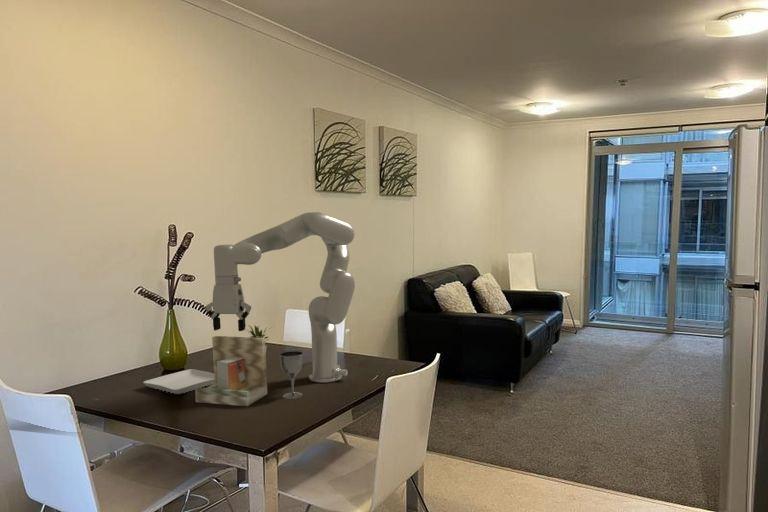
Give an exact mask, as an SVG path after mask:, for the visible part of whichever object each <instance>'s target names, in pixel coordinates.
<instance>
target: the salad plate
mask: <svg viewBox="0 0 768 512" xmlns="http://www.w3.org/2000/svg"><path fill="white" fill-rule="evenodd" d="M143 384H144V385H145V386H147V387H149V388H152V389H156V390H157V389H159V390H158V391H161V390H162V391H161V392H164V391H166V392H165V393H168V392H170V393H169V394H172V393H174V394H173V395H183V394H186V392H187V393H190V392H193V390H194V391H195V388H197V387H201V388H202V387H203V388H206V387H209V386H211V385H213V384H214V372H213V373H212V372H209V371H204V370H199V369H194V368H193V369H192V368H191V369H190V368H189V369H184V370H181V371H177V372H173V373H169V374H164V375H161V376H158V377H154V378H151V379H146V380H145V381H143ZM205 386H206V387H205ZM189 391H190V392H189ZM182 393H183V394H182Z"/></svg>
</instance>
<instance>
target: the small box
mask: <svg viewBox="0 0 768 512" xmlns="http://www.w3.org/2000/svg"><path fill="white" fill-rule="evenodd" d="M217 377H218V389H229V390H239V389H243V388H246V376H245V358H240V357H232V358H228V359H225V360H221V361H217Z"/></svg>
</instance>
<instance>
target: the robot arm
mask: <svg viewBox="0 0 768 512" xmlns="http://www.w3.org/2000/svg"><path fill="white" fill-rule="evenodd" d="M311 236H317V237H320V238H321V240H322V242H323V243H324V246H325V247H326V249H327V251H326V252H327V256H326V261H325V265H324V268H323V270H322V274H321V277H320V281H319V287H320V290H321V291H322V292H323V293H326V294H327V295H328V296H324V295H319V296H316V297H314V298H312V300H311V301H310V302H309V306H308V317H309V321H310V330H311V354H312V355H311V357H312V373H310V374H309V375H308V379H309V381H311V382H313V383H320V384H321V383H331V382H333V383H334V382H336V381H338V380H339V381H340V380H341V379H342V377H345V376H348V370H347V369H345V368H341V365H340V364H338V345H337V341H338V338H337V336H338V335H337V334H338V333H337V327H336V325H340V324H341V323H342V322H343V321H344V320H345V319H346V317H347V314H348V312H349V309H350V306H351V303H352V300H353V296H354V292H355V286H356V284H355V283H356V282H355V279H354V276H353V275H352V274H351V272H349V271H347V270H348V266H349V261H350V251H349V247H348V245H349V244H351V243H352V242H353V241H354V238H355V231H354V228H353V226H351V224H349V223H348V222H346V221H343V220H340V219H339V218H336V217H332V216H331V215H328V214H326V213H322V212H319V211H315V212H314V211H313V212H310V211H309V212H304V213H302V214H299V215H297V216H295V217H294V218H291V219H288V220H286V221H285V222H283V223H280V224H278V225H276V226H274V227H271V228H268V229H266V230H264V231H261V232H258V233H255V234H254V235H252V236H251V235H250V237H247V238H246V237H245V239H243V240H239V241H238V242H237V243H235V244H218V245H215V246H214V247H213V263H214V265H213V266H214V282H215V284H214V285H213V290H212V302H210V303H209V304H206V305H205V310H206V311H207V314H208V316H210V319H211V320H212V326H213V331H218V330H220V329H221V327H222V326H221V318H220V317H219V316H220V315H236V317H237V318H238V320H237V327H238V328H237V329H238V332H242V331H243V330H245V331H246V326H247V325H246V319H247V317H248V316H249V314H250V312H251V310H252V305H250V304H248V303H246V302H245V298H244V293H243V288H242V285H241V283H239V282H241V281H242V278H241V277H239V273H238V272H239V271H238V265H245V266H247V265H249V266H250V265H255V264H257V263H258V262H259V261H260V260H261V258H262V255H263V254H265V253H268V252H271V251H278V250H279V251H280V250H283V249H286V248H288V247H291V246H293V245H295V244H296V243H298V242H300V241H302V240H304V239H307V238H308V237H311Z"/></svg>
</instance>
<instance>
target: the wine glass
mask: <svg viewBox="0 0 768 512" xmlns="http://www.w3.org/2000/svg"><path fill="white" fill-rule="evenodd" d="M279 362H280V367H281V370H282V372H284V374H285V375H286V376H287V377H288V378H289V380H290V381H289V382H290V384H291V386H290V387H291V392H287V393H285V394H283V395H282V398H283V399H286V400H296V399H300V398H302V397H304V394H303V393H302V392H297V391H296V392H295V380H296V379H295V378H296V377H297V376H298V374H299V373H300V371H301V370H302V368H303V363H304V352H303V351H302V350H285V351H283V352H280V353H279Z"/></svg>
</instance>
